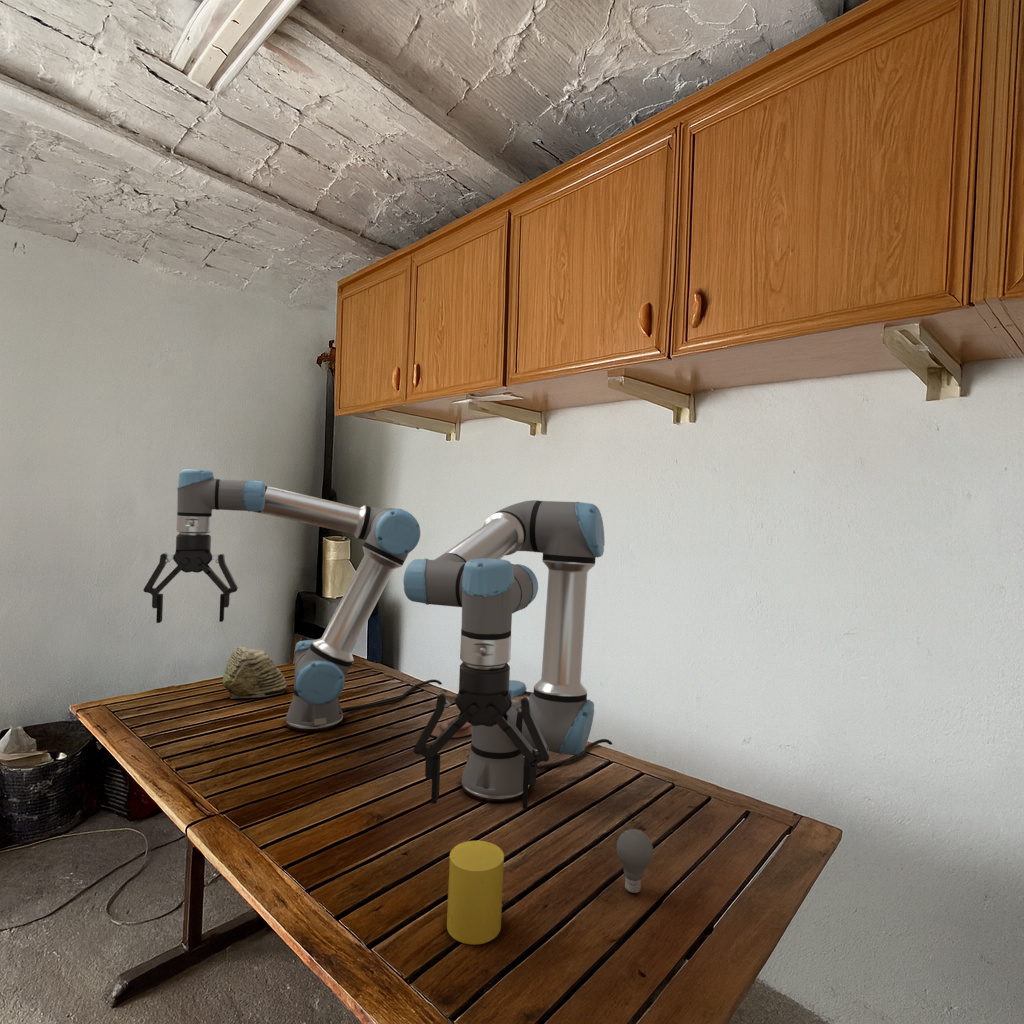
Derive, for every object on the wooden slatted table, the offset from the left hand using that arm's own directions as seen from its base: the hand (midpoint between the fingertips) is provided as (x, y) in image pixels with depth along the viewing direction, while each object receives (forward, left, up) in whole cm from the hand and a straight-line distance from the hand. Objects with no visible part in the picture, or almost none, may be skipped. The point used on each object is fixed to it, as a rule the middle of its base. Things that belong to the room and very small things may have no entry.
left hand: (190, 621), depth 153 cm
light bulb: (-24, +108, -32) cm, 115 cm away
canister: (0, +94, -32) cm, 99 cm away
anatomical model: (-55, +36, -32) cm, 73 cm away
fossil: (-34, -29, -32) cm, 55 cm away
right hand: (-1, +94, -13) cm, 94 cm away
